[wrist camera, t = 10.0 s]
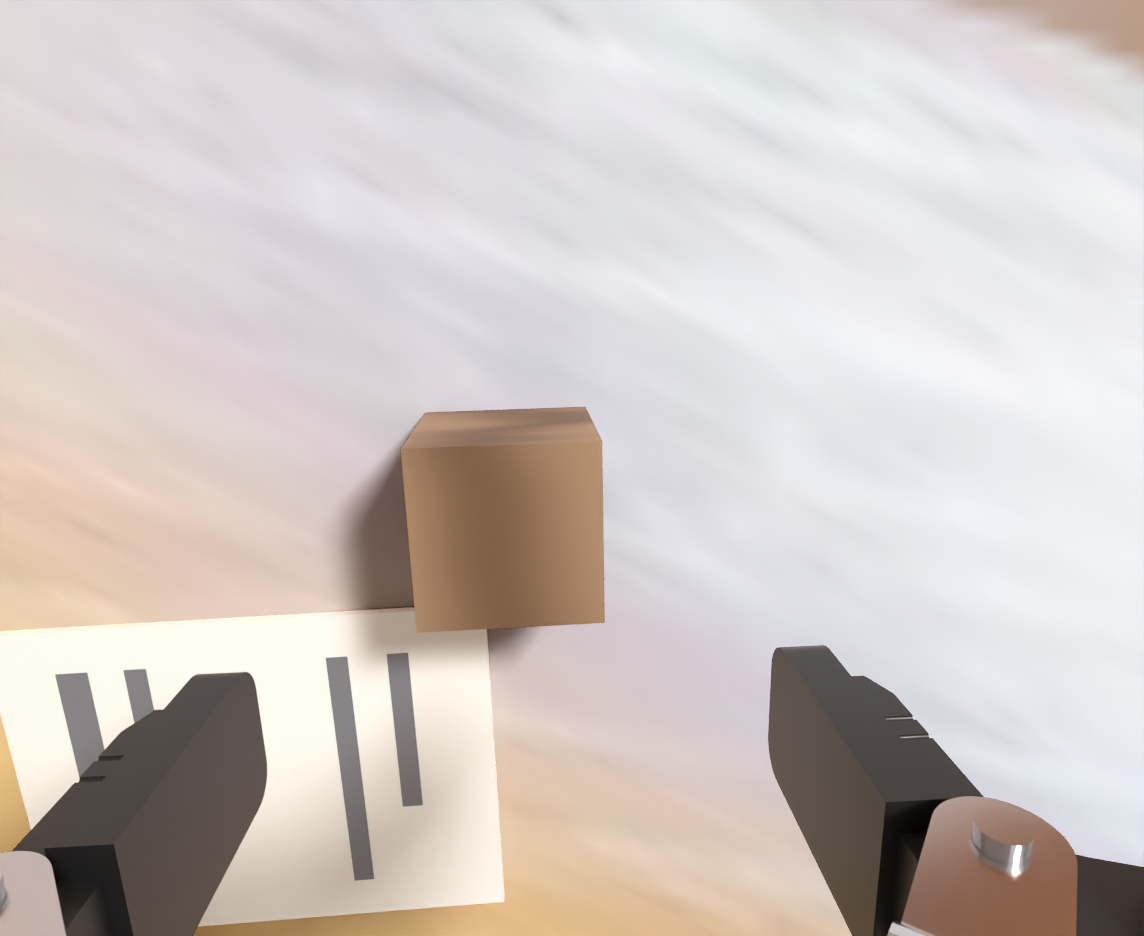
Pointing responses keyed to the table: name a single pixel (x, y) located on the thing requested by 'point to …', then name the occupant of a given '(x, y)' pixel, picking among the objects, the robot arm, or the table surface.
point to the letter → (294, 749)
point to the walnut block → (505, 519)
